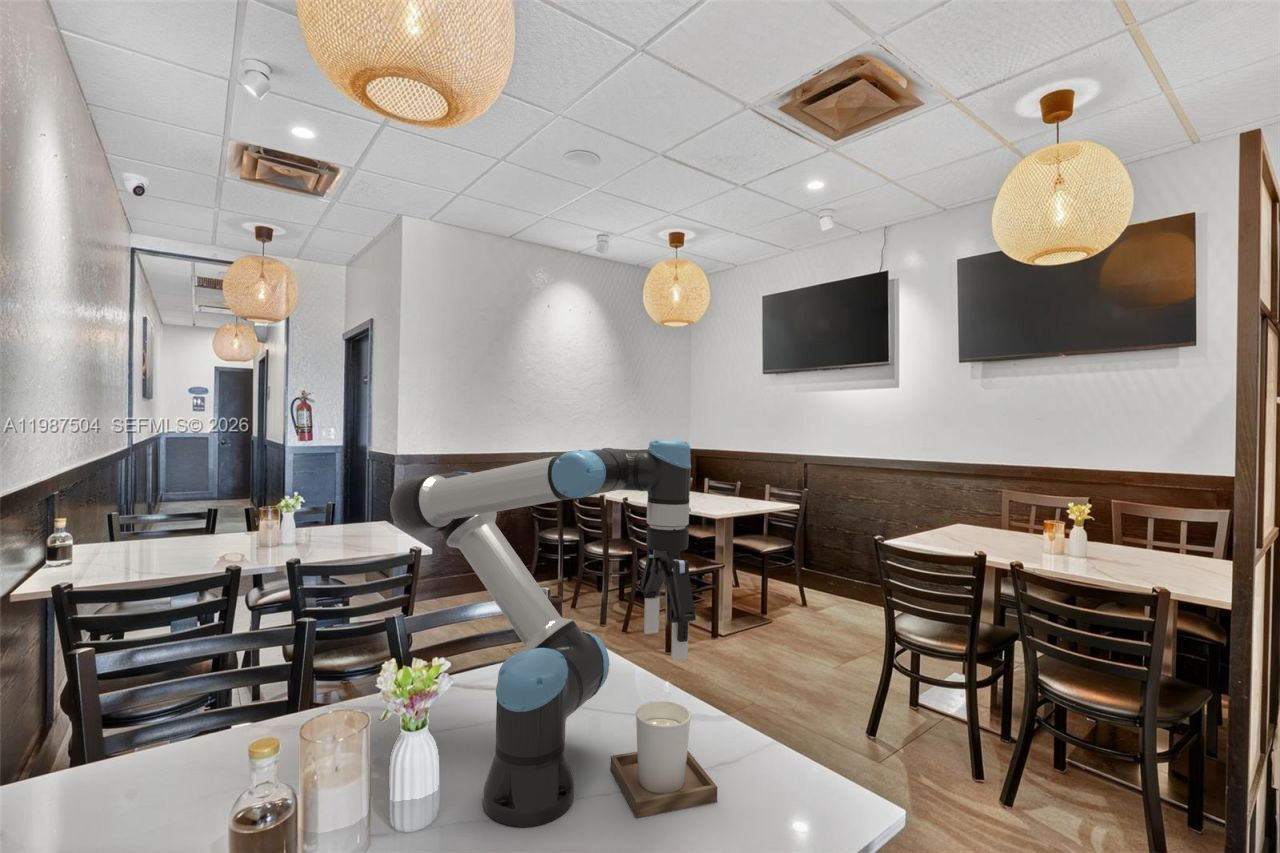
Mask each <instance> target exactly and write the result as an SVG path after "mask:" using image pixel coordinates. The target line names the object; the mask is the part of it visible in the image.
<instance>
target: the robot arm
mask: <svg viewBox="0 0 1280 853" xmlns="http://www.w3.org/2000/svg"><path fill="white" fill-rule="evenodd" d="M648 444H649V445H648V449H642V450H641V449H627V448H624V449H623V448H611V447H602V448H594V449H591V450H587V449H577V450H572V451H567V452H565V453H563V454H561V455H560V454H559V455H557V456H549V457H546V458H540V459H536V460H531V461H530V460H529V461H527V462H526V461H525V462H522V463H517V464H511V465H505V466H502V467H497V468H491V469H486V470H482V471H477V472H470V471H469V472H465V471H452V472H449V473H435V474H420V475H415V476H412V477H409V478H407V479H405V480H404V481H402V482H400V484H399V485H397V487H396V488H395V489H394V491H393V493H392V495H391V498H390V504H389V505H390V506H389V508H390V509H389V510H390V515H391V517H392V520H393V521H394V523H395V525H397V526H398V528H400V529H401V530H403V531H405V532H407V533H409V534H414V535H428V534H433V533H434V534H435V533H439V535H440V536H441V538H442V539H443V541H444V542H445V544H446V545H447V546H448V547H450V548H457V549H459V551H460V552H461V553H462V555H463V557H464V558H465V560H466V561H467V562H468V564H469V565H470V566H471V568H472V570H473V571H474V573H475V574H476V575H477V577H478V578H479V580H480V581H481V583H482V584H483V586H484V588H485V589H486V590H487V592H488V593H489V594H490V596H491V598H492V599H493V601H494V602H495V603H496V605H497V606H498V608H499V609H500V611H501V612H502V614H503V615H504V617H505V619H506V621H508V623H509V625H510V626H511V627H512V629H513V630H514V632H515V633H516V635H517V636H518V638H519V639H520V640H521V642H522V643H523V646H524V650H521V651H518V652H516V653H514V654H512V655H511V656H509V657H508V658H506V660H505V661H503V663H502V664H501V666H500V668H499V670H498V675H497V676H498V677H497V682H496V683H497V684H496V688H495V694H496V695H495V696H496V697H495V698H496V718H495V720H496V721H495V726H496V727H495V749H494V750H495V751H494V752H495V754H494V757H493V759H492V763H491V765H490V767H489V768H490V769H489V772H488V773H487V777H486V780H485V782H484V785H483V793H482V794H483V795H482V796H483V798H482V800H483V801H482V805H483V810H484V812H485V813H486V814H487V815H488V816H489V817H490V818H491V819H493V820H494V821H495V822H498V823H500V824H503V825H507V826H511V827H512V826H513V827H521V828H522V827H533V826H535V827H536V826H538V825H539V826H540V825H542V824H543V825H544V824H546V823H549V822H551V821H554V820H555V819H558V818H559V817H561V816H562V815H564V814H565V813H566V812H567V811H568V810H569V808H570V807H571V805H573V804H572V803H573V802H574V798H575V797H574V795H575V780H574V777H573V773H572V770H571V767H570V763H569V760H568V756H567V753H566V726H567V725H566V722H567V719H568V717H570V716H571V715H572V714H573V713H575V712H576V711H577V710H578V709H579V708H581V706H583V705H584V704H585V703H586V702H588V701H589V700H591V699H592V698H593V697H594V696H596V694H597V693H598V692H599V691H600V690H601V688H602V687H603V685H604V684H605V682H606V681H607V679H608V675H609V673H610V672H609V670H610V658H609V654H608V653H609V652H608V649H607V647H606V646H605V644H604V642H603V641H602V640H601V638H599V636H597V635H596V634H594V633H592V632H588V631H585V630H581V629H580V628H579V626H578V625H577V624H576V622H575V621H574V620H573V618H565V617H563V616H562V617H561V616H560V615H559V613H558V612H557V611H556V609H555V608H554V606H553V605H552V603H551V602H550V601H549V599H548V597H547V595H546V594H545V592H544V591H543V590H542V587H541V586H540V585H539V584H538V582H537V581H536V580H535V578H534V577H533V575H532V574H531V572H530V571H529V570H528V568H527V566H525V564H524V563H523V561H522V559H521V558H520V556H519V555H518V554H517V552H516V551H515V549H514V548H513V547H512V546H511V543H509V541H508V540H507V538H506V537H505V535H504V534H503V533H502V531H501V530H500V528H499V527H498V525H497V524H496V520H497V517H498V516H497V515H498V514H497V513H498V512H501V511H507V510H512V509H519V508H524V507H531V506H535V505H541V504H547V503H552V502H558V501H564V500H566V501H567V500H573V499H582V498H586V497H587V498H589V497H590V496H594V495H598V494H604V493H610V492H615V491H634V492H635V491H636V492H637V491H638V492H647V502H646V524H647V525H649V526H648V527H647V528H646V547H647V548H646V550H647V554H646V562H645V565H644V568H643V574H642V577H641V583H640V591H641V592H643V597H644V611H643V612H644V615H643V617H644V618H643V619H644V620H643V633H644V634H645V635H648V634H659V631H660V630H659V629H660V603H661V602H660V597H661V596H662V595H661V589H662V586H663V585H664V586H666V587H667V591H668V596H669V600H670V604H671V609H672V612H673V617H672V618H671V625H672V626H671V652H670V653H671V658H670V659H671V660H672V661H673V662H675V661H684V660H688V659H689V632H690V631H689V629H690V622H693V621H696V619H697V618H696V616H697V615H696V611H695V610H696V609H695V603H694V597H693V591H692V584H691V578H690V567H689V566H690V563H689V560H687V559H684V560H682V559H681V554H680V553H681V552H682V551H685V550H687V549H688V548H689V534H690V533H689V532H690V530H689V528H688V525H690V523H689V522H690V512H691V511H692V509H691V508H692V507H690V492H691V490H690V487H691V469H692V465H691V446H690V443H688V441H686V440H676V439H675V440H672V439H670V440H669V439H652V440H650V442H649V443H648Z"/></svg>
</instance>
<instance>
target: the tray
mask: <svg viewBox="0 0 1280 853" xmlns="http://www.w3.org/2000/svg"><path fill="white" fill-rule="evenodd" d="M609 761H610V762H609V764H610V767H609V769H610V772H611V774H612V775H613V777H614V779H615V781H616V782H617V785H618V786H619V788H620V790H621V792H622V794H623V796H624V798H625V799H626V801H627V803H628V805H629V807H630V809H631V811H632V812H633V815H634V816H635V818H636V819H638V818H642V817H643V818H644V817H647V816H648V817H649V816H653V815H658V814H663V812H664V813H669V812H674V811H678V810H684V809H688V808H693V807H697V806H703V805H708V804H713V803H716V802H718V786H717V785H716V783H715V782H714V781H713V779H712V778H711V777H710V776H709V774H708V773H707V772H706V771H705V769H704V768H703V767H702V766H701V765H700V764H699V762H698V761H697V760H696V758H695V757H694V756H693V754H691V753H690V751H689V750H688V751H687V763H686V774H685V782H684V785H683V786H682V788H680V789H679V790H678V791H675V792H673V793H667V794H659V793H654V792H650V791H648V790H646V789H645V788H643V787H642V786H641V785H640V783H639V780H638V764H637V751H632V752H626V753H620V754H615V755H610V760H609ZM673 810H674V811H673ZM668 811H669V812H668Z"/></svg>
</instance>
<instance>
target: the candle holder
mask: <svg viewBox="0 0 1280 853" xmlns="http://www.w3.org/2000/svg"><path fill="white" fill-rule="evenodd" d="M691 718H692V714H691V711H690V710H689V708H688V707H686V706H684V705H682V704H681V703H678V702H675V701H671V700H670V701H669V700H652V701H647V702H644V703H642V704H640V705H639V706H638V707H637V708H636V711H635V719H636V720H635V721H636V722H635V724H636V752H637V764H638V780H639V783H640V785H641V786H642V787H643V788H645V789H646V790H648V791H650V792H654V793H659V794H667V793H673V792H675V791H678V790H679V789H680V788H682V786H683V785H684V782H685V774H686V763H687V751H689V748H688V747H689V737H690V735H689V734H690V724H691Z"/></svg>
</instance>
